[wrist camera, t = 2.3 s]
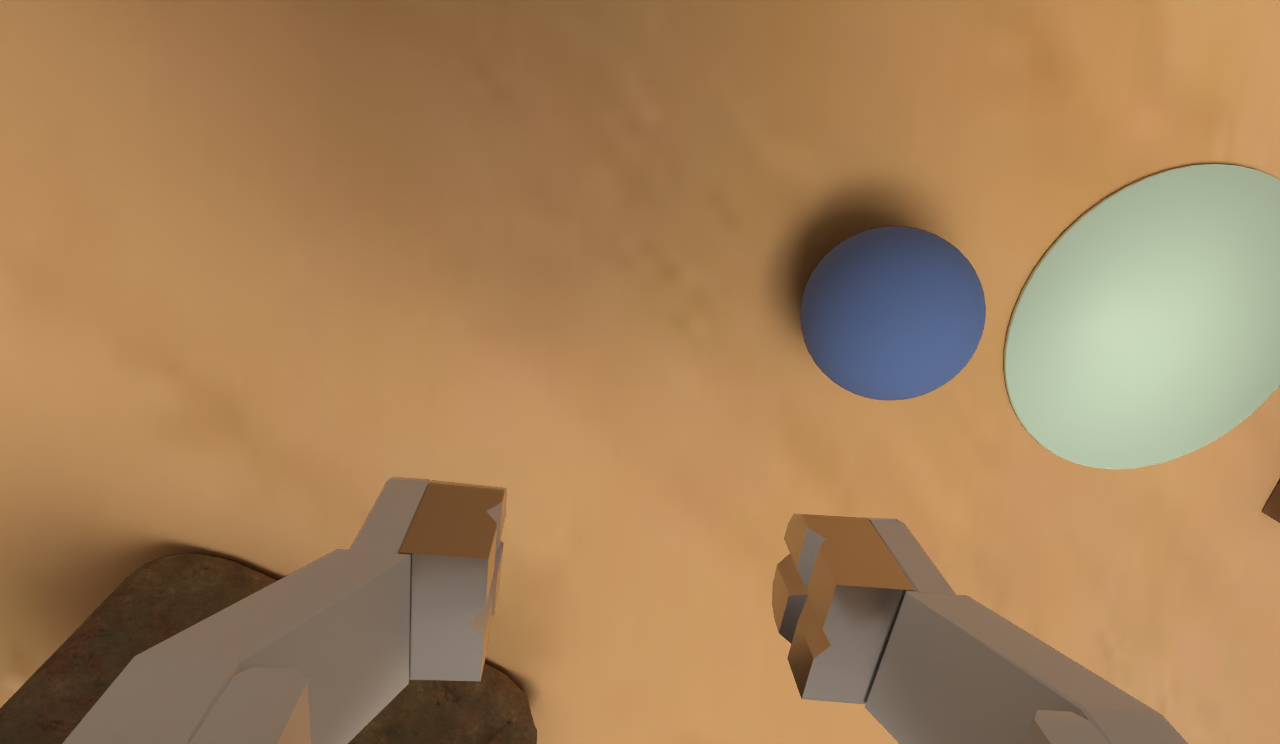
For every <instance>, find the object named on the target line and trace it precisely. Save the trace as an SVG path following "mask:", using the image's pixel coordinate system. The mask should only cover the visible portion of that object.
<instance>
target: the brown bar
mask: <svg viewBox="0 0 1280 744" xmlns="http://www.w3.org/2000/svg"><path fill="white" fill-rule="evenodd" d="M1262 512H1263V513H1265V514H1266V515H1268V516H1270V517H1271V518H1273V519H1274V520H1276V521H1278V522H1279V523H1280V481H1279V483H1278V484H1277V486H1276V488H1275V490H1274V491H1273V493H1272V495H1271V497H1270V498H1269V500H1268V502H1267V504H1266V505H1265V507H1264V509H1263V511H1262Z"/></svg>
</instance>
